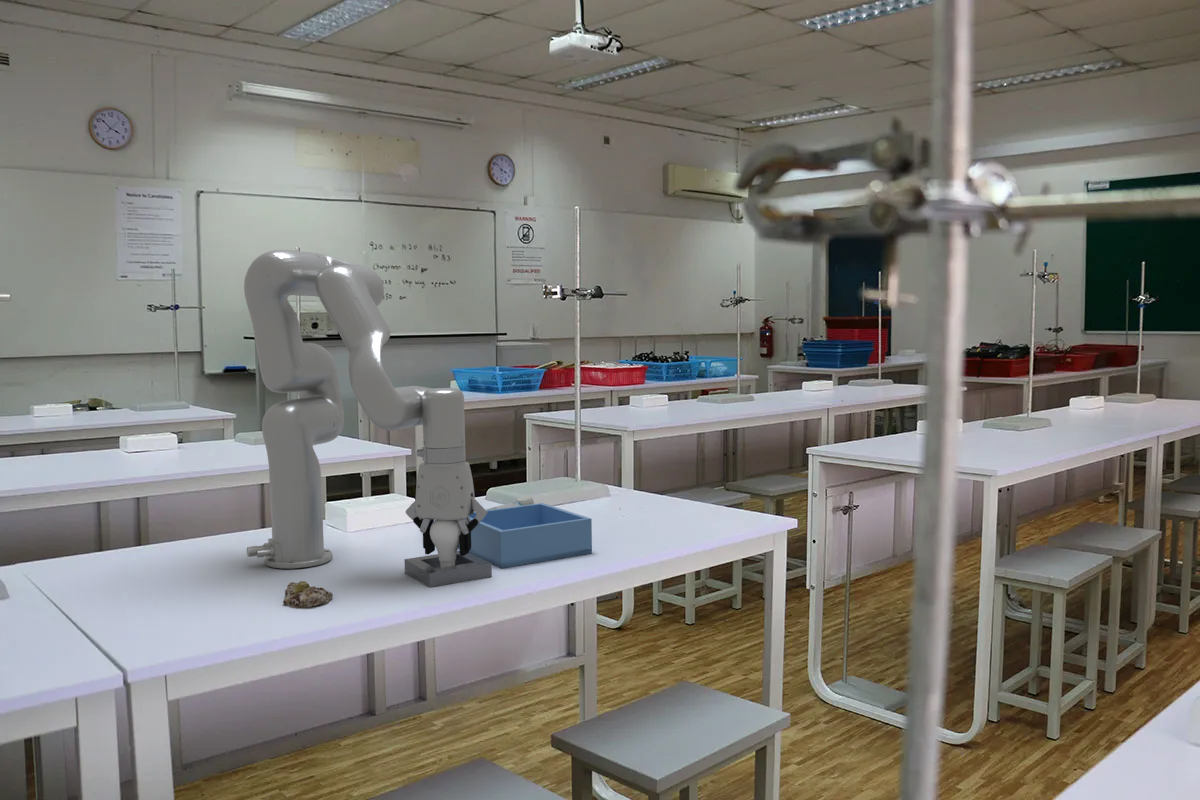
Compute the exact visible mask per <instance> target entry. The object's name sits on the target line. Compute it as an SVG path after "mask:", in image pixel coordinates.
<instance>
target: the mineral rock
mask: <svg viewBox="0 0 1200 800" xmlns="http://www.w3.org/2000/svg"><path fill="white" fill-rule="evenodd" d="M284 595H285V598H284V599H283V601H282V603H283V605H284V606H286V607H291V608H293V609H298V608H313V607H315V606H319V605H327V604H329V603H330V602H331V600H332V599H333V596H334V594H333V592H331V591H329V590H326V589H325V588H324V587H316V586H314V585H312V586H311V585H310V583H309V582H307V581H305V580H303V581H302V580H301V581H299V582H292V581H290V582H289V583H288V584H287V587H286V589H285V590H284ZM312 606H313V607H312Z"/></svg>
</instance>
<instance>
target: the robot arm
mask: <svg viewBox="0 0 1200 800" xmlns="http://www.w3.org/2000/svg"><path fill="white" fill-rule="evenodd" d="M243 283H244V285H243V289H244V290H243V291H244V297H245V298H244V299H245V303H246V305H247V309H248V312H249V316H250V319H251V324H252V328H253V336H254V342H255V349H256V354H257V358H258V359H257V360H258V366H259V372H260V376H261V380H262V383H263V385H264V387H266V389H268V390H269V391H270V392H272V393H276V394H277V393H278V394H289V393H298V398H293V399H286V400H282V401H278V402H277V403H275V404H273V405H271V406H270V407H269V408H268V409H267V410H266V411H265V414H264V415H263V417H262V421H261V431H262V433H261V434H262V439H263V440H264V445H265V450H266V455H267V461H268V473H269V474H268V475H269V476H268V477H269V478H268V479H269V491H270V493H269V494H270V495H269V498H270V516H271V517H270V518H271V520H270V521H271V537H272V538H268V540H267V542H264V543H263V544H262V545H253V546H247V547H246V556H247V558H251V557H256V558H264V564H265V565H266V567H267V566H268V567H270V568H274V569H285V570H286V569H302V568H309V567H310V568H311V567H314V566H320V565H323V564H326V563H328V562H330V561H331V560H332V559H333V551H331V550H329V549H327V548H325V547H324V545H325V543H324V521H323V520H324V518H323V513H324V512H323V494H322V493H323V491H322V490H323V489H322V472H321V471H322V469H321V466H320V462H319V459H318V456H317V454H316V452H315V451H316V450H314V446H317V445H321V444H327V443H329V442H332V441H334V440H335V439H336V438H338V437H339V435H340V434H341V433H342V431H343V428H344V425H345V416H344V415H345V412H344V405H343V400H342V396H341V395H342V394H341V389H340V383H339V375H338V370H337V367H336V363H335V361H334V358H333V356H332V355H331V353H330V352H329V351H328V350H327V349H326V348H325V347H323V346H322V345H320V344H318V343H313V342H304V341H303V338H302V333H301V328H300V322H299V317H298V316H297V312H296V311H295V309H294V308H293V306H292V305H291V303H290V302H289V299H288V298H289V297H290V296H300V297H301V296H303V297H305V296H306V297H317V298H319V300H320V302H321V304H322V305H323V307H324V309H325V311H326V313H327V315H328V316H329V318H330V319H331V322H332V323H333V325H334V327H335V329H336V331H337V333H338V334H339V335H340V338H341V340H342V341H343V344H344V346H345V347H346V349H347V351H348V374H349V380H350V386H351V389H352V392H353V393H354V395H355V397H356V399H357V401H358V403H359V405H360V406H361V408H362V410H363V412H364V413H365V415H366V416H367V418H368V419H369V420H370V421H371V423H372V424H374V425H375V426H376V427H377V428H379V429H381V430H384V431H389V432H392V431H396V430H403V429H407V428H408V429H409V428H415V427H417V426H422V439H423V441H422V443H423V445H422V447H421V448H419V449H416V457H421V458H422V461H423V462H422V463H419V465H418V471H417V476H416V485H415V500H414V501H413V502H412V503H411V504H410V506H409V507H408V508H406V510H405V514H406V516H407V517H408V518H410V519H411V520H412V521H413V524H414V525H415V526H416V527H417V528H419V531H420V533H421V534H422V548H423V549H424V554H425V555H431V554H432V553H433V552H435V551H436V547H435V545H434V543H433V542H432V540H431V537H430V528H431V525H432V523H433V522H434V521H435V520H458V523H459V525H460V528H461V530H462V534H460V536H459V541H460V549H459V551H460V555H461V556H465V555H466V554H468V553H469V550H471V531H472V530H473V529H474V528H475V527H476V526H477V525H478V524H479V523H480V522H481V521H482V520H483V519H484V518H485V517H486V516H487V514H488V513H487V511H486V510H485V509H486V508H484V507H483V505H481V504H480V503H479V501H477V500H476V498H475V488H474V487H475V486H474V480H473V476H472V470H471V466H470V463H469V462H467V461H466V459H467V458H466V455H467V454H466V421H465V420H466V419H465V395H464V393H463V391H462V390H461V389H459V388H456V387H434V388H433V387H425V386H421V385H420V386H419V385H408V386H399V387H394V386H393V384H392V382H391V380H390V378H389V377H388V374H387V373H386V371H385V369H384V366H383V361H382V349H383V346H384V345H385V344H386V343H387V342H388V340H389V339H390V337H391V330H390V327H389V325H388V324H387V322H386V320H385V318H384V316H383V315H382V313H381V312H380V310H379V307H378V306H379V305H380V304H381V303H382V300H383V299H384V295H385V287H384V284H383V280H382V279H381V277H380V275H378V273H377V272H376V271H374V270H373V269H371V268H369V267H367V266H363V265H359V264H357V263H354V262H350V261H346V260H343V259H340V258H338V257H337V258H336V257H334V256H330V255H326V254H323V253H317V252H309V251H300V250H292V249H291V250H290V249H277V250H270V251H267V252H264V253H262V254H260V255H258V256H257V257H256V258H255V259H254V260H253V261H252V262H251V264H250V265H249V267H248V269H247V271H246V274H245V276H244V282H243ZM474 512H476V516H475V518H474V519H473V520H470V518H469V515H472V514H473V513H474Z"/></svg>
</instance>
